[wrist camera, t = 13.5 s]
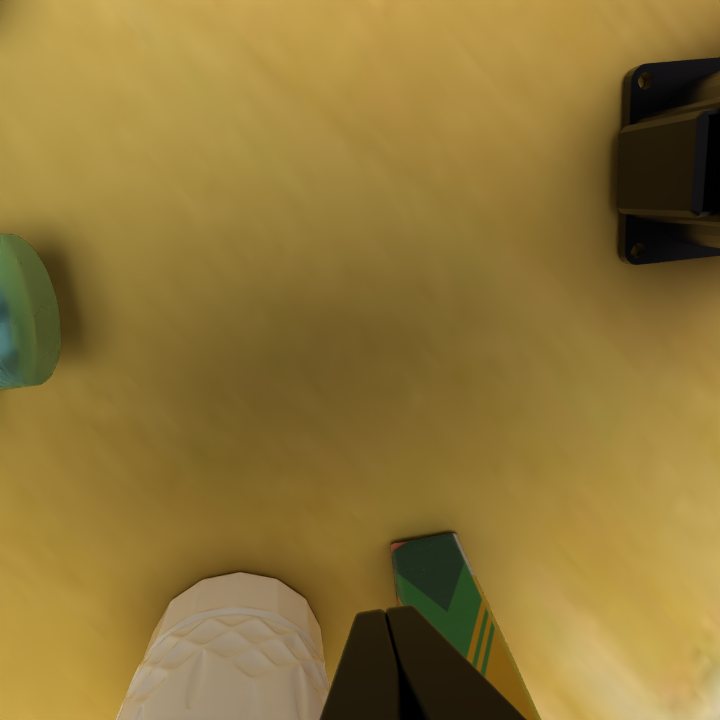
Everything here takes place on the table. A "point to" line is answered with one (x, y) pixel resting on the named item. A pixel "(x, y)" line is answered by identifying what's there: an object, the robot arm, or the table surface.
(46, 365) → the teal and white peg
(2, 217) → the table surface
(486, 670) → the crayon box
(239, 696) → the white cup
